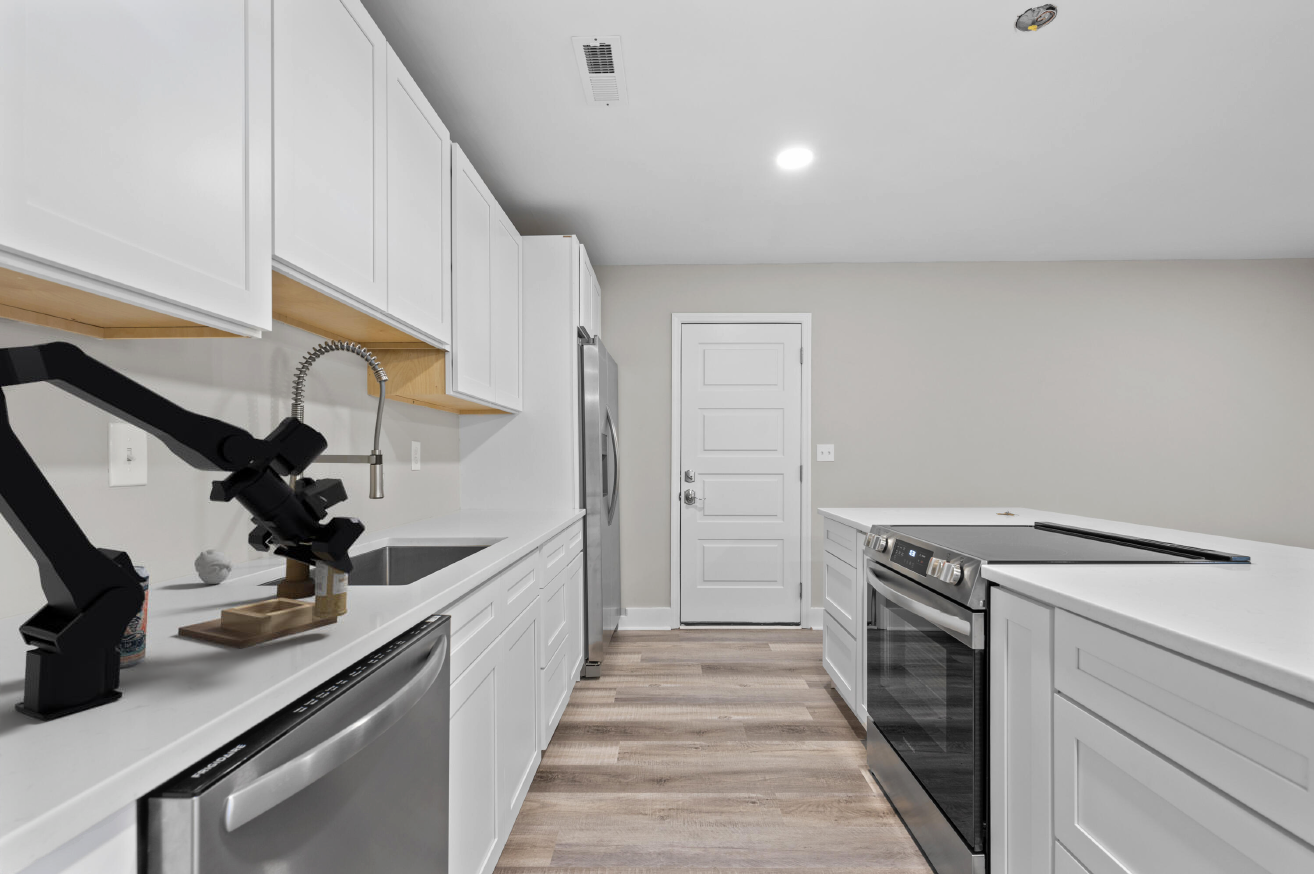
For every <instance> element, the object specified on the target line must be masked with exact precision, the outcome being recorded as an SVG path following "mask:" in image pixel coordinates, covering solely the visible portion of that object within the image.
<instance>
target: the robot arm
mask: <svg viewBox="0 0 1314 874" xmlns="http://www.w3.org/2000/svg"><path fill="white" fill-rule="evenodd" d="M38 382H39V383H40V382H45V383H48V384H50V385H52V386H54V387H56V388H58V389H61V390H62V391H63V392H66V393H68V394H71V395H72V396H74V397H76V398H79V399H80V400H83V401H84V402H86V403H89V404H90V405H92V406H94V407H97V408H98V409H101V410H102V411H104V412H106V413H108V414H110V415H113V416H115V418H118V419H120V420H122V421H124V422H126V423H128V424H131V425H133V427H136V428H138V429H141V430H143V431H145V432H146V433H148V434H150V435H152V436H154V437H156V439H158V440H160V441H161V442H162V443H163V445H164V446H166V447H167V448H168V450H169V451H170V452H171V453H173V454H174V455H175V456H177V457H178V458H179V459H180V460H182V461H184V462H185V463H186V464H187V465H189V466H191V467H192V468H194V469H196V470H199V471H202V472H203V471H205V472H227V473H230V474H228V476H226V477H225V478H223V480H214V479H213V480H212V481H211V485H212V486H211V490H210V494H209V500H210V501H211V502H218V503H219V502H221V503H230V502H231V501H232V500H233V499H235V500H236V501H237V502H238V503H239V504H240V505H241V506H243V508H245V509H246V510H247V512H249V513H250V514H251V515H252V518H250V519H249V520H250V521H251V523H253V524H254V525H255V527H254V528H253V529H252V530H251V531H250V532H249V533H248V540H247V543H248V544H249V546H251V547H252V548H253V549H254V550H255V551H256V552H262V553H268V552H269V551H270V550H271V545H272V546H273V547H275V549H274V551H273V554H274V555H275V556H278V557H282V558H286V559H287V558H288V559H291V560H295V561H298V562H301V563H305V564H308V565H310V567H315V568H316V562H319V563H321V564H324V565H326V566H329V567H331V568H334V569H336V570H339V571H342V572H344V573H348V575H349V574H350V573H351V572H352V571H353V569H354V565H353V563H352V560H351V557H350V555H349V549H350V548H351V547H352V546H353V545H354V543H355V542H356V541H357V540H358V539H359V537H361V536H362V534H363V533H364V531H365V530H366V526H365V524H364V523H363V522H362V521H361V520H360V519H359V518H358V517H349V516H333V517H332V518H331V519H330V520H329V521H328V522H327V523H320V521H323V520H324V519H326V518H327V516H328V515H329V513H328V511H327V510H328V509H330V508H331V507H334V506H335V505H338V504H339V503H341V502H343V503H344V502H346V500H348V499H349V498H348V494H347V491H346V488H345V486H344V484H343V481H342V479H341V478H328V477H327V478H320V479H319V478H317V479H316V480H314V479H313V478H312V477H310V476H309V477H306V476H303V477H301V478H298V479H296V480H295V481H294V489H293V488H292V487H291V486H290V485H289V484H288V483H287V482H286V480H284V478H285V477H289V476H292V477H298V476H299V477H300V475H301V474H302V473H303V472H304V471H306V469H308V467H309V466H310V465H312V463H313V462H314V461H315V460H316V459H318V457H319V456H320V455H322V453H324V451H325V450H326V449H327V448H328V446H329V444H328V441H327V439H326V438H325V436H324V435H323V434H322V433H321V432H320V431H317V429H314V428H313V427H312V426H310V425H308V424H306V423H304V422H302V421H301V420H300V419H299V418H298V417H296V416H287V417H285V418H283V420H281V422H280V423H279V424H278V426H277V427H276V428H275V429H273V430H272V431H271V432H270V433H269V434H268V435H267V436H266V437H264V438H263V439H261V438H257V437H256V438H255V437H254V436H253V434H252V433H250V432H249V431H248V430H247V429H245V428H243V427H241V426H239V425H238V426H237V425H234V424H232V423H230V422H226V421H224V420H222V419H217V418H214V417H211V416H207V415H203V414H199V413H196V412H194V411H191V410H188V409H186V408H185V407H182V406H181V405H179V404H176V403H175V402H173V401H171V400H169V398H168V399H167V398H166V397H164V396H162V395H160V394H159V393H157V392H155V391H153V390H152V389H149V388H148V387H146V386H145V385H143V384H141V383H139V382H138V381H136V380H133V379H132V378H130V377H128V376H127V375H125V374H123V373H121V372H119V371H117V370H115V369H114V368H112V367H110V366H108V365H107V364H105V363H103V362H101V361H99V360H98V359H95V358H94V357H92V356H91V355H89V354H87V353H85V352H84V350H82V349H81V348H80V347H79V346H77V345H75V344H73V343H70V342H67V341H60V340H58V341H51V342H45V343H44V342H43V343H39V344H38V343H37V344H33V345H27V346H26V345H25V346H14V347H0V514H1V516H2V517H3V518H4V520H5V521H6V523H7V524H8V525H9V527H10V528H11V529H12V531H13V532H14V533H15V534H16V535H17V537H18V538H19V540H20V542H21V543H22V544H23V545H24V546H25V548H26V549H27V551H28V552H29V554H30V555H31V556H32V557H33V559H34V560H35V562H36V564H37V567H38V572H39V573H38V574H39V579H40V586H41V589H42V592H43V594H44V597H45V598H46V601H47V602H46V604H44V605H43V606H42V607H40V609H38V610H37V611H36V612H35V613H34V614H33V615H32V616H31V617H29V618H28V619H27V620H25V622H23V623H22V624H21V625H20V626H19V627H18V632H19V633H20V635H21V638H22V640H23V642H24V643H25V645H27V646H34V647H35V648H34V649H29V650H26V653H25V668H24V669H25V670H24V671H25V672H24V690H23V691H24V692H23V701H21V702H18V703H15V705H14V709H15V710H16V711H19V712H22V713H25V714H27V715H30V716H31V717H32V716H33V717H34V718H38V719H41V720H50V719H51V720H52V719H54V718H57V717H61V716H64V715H67V714H71V713H74V712H77V711H82V710H85V709H87V708H91V707H95V706H98V705H102V704H105V703H108V702H112V701H115V700H119V699H122V698H123V691H122V692H121V691H118V690H117V689H118V688H119V687H120V682H121V679H120V678H121V668H120V662H121V652H120V651H118V650H116V646H117V645H119V644H120V642H121V640H122V638H123V636H124V634H125V631H126V629H127V627H128V625H129V623H130V621H131V620H132V619H133V618H135V616H136V615H137V614H138V612H139V611H140V610H141V607H142V605H143V602H144V601H145V599H146V598H145V592H144V589H143V587H142V585H141V584H140V583H143V582H146V581H147V579H145V578H144V577H142V576H140V575H139V574H138V573H137V572H136V570H135V569H134V567H133V566H134V564H133V561H132V559H131V557H130V555H129V554H128V553H127V552H126V551H123V550H117V549H113V548H111V549H110V548H104V547H96V546H95V545H93V544H92V543H91V541H90V539H89V538H88V536H87V535H86V534H85V533H84V531H83V530H82V528H81V527H80V525H79V523H77V521H76V519H75V518H74V517H73V515H72V513H70V511H69V510H68V508H67V507H66V505H65V504H64V502H63V500H62V499H61V498H60V496H59V495H58V494H57V492H56V491H55V489H54V488H53V486H52V485H51V484H50V482H49V480H48V479H47V478H46V476H45V475H44V474H43V472H42V471H41V469H40V468H39V466H38V465H37V463H36V462H35V461H34V459H33V458H32V456H31V455H30V453H29V452H28V450H27V449H26V447H25V446H24V445H23V443H22V442H21V440H20V439H19V437H18V436H17V434H16V433H15V431H13V428H12V426H11V423H10V418H9V412H8V405H7V398H6V395H5V393H4V389H3V388H5V387H9V386H10V387H12V386H18V385H24V384H25V385H26V384H32V383H38ZM347 551H348V552H347Z"/></svg>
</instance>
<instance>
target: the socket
mask: <svg viewBox="0 0 1314 874" xmlns="http://www.w3.org/2000/svg"><path fill="white" fill-rule="evenodd" d="M220 611H221V612H220V618H216V619H211V620H208V621H203V622H199V623H195V624H190V625H185V626H180V627H177V628H178V631H177V635H178V636H181V637H182V636H183V637H187V638H192V639H197V640H201V641H206V642H211V643H213V644H218V645H224V646H227V647H232V648H235V649H236V648H237V649H243V648H247V647H252V646H254V645H255V646H256V645H258V644H262V643H265V642H270V641H272V640H273V641H274V640H276V639H280V638H283V637H287V636H291V635H295V634H298V633H302V632H306V631H309V630H313V629H318V628H320V627H325V626H328V625H333V624H336V623H338V617H334V618H318V617H315V616H314V615H313V613H314V611H315V602H311V601H305V600H299V599H287V598H277V597H276V598H273V599H268V600H264V601H258V602H254V603H250V604H249V603H248V604H245V605H240V606H235V607H230V608H225V609H221V610H220Z"/></svg>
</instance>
